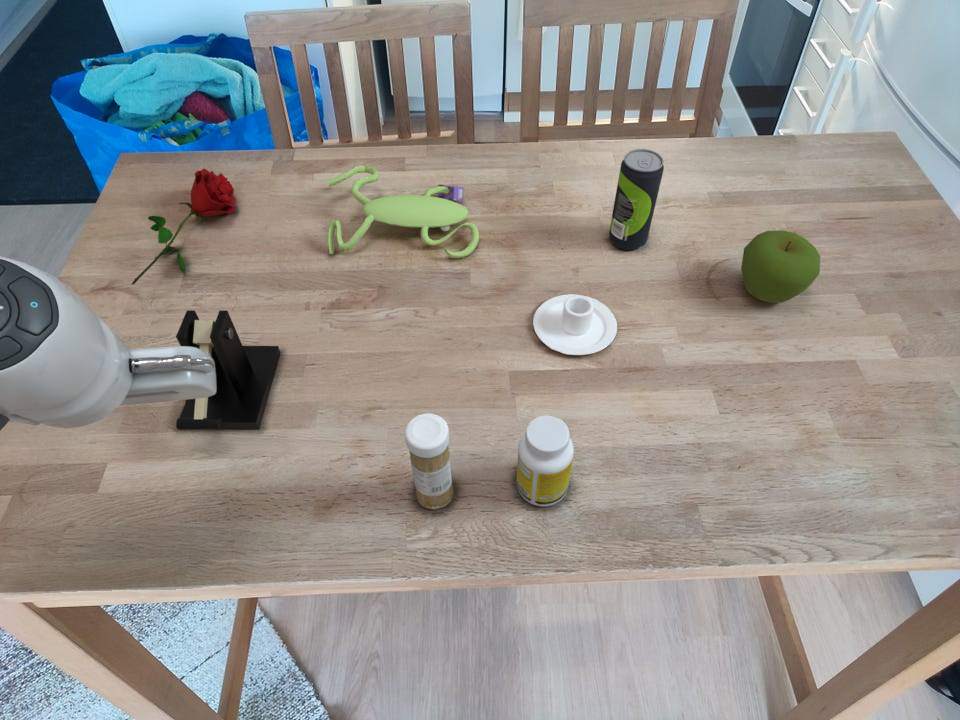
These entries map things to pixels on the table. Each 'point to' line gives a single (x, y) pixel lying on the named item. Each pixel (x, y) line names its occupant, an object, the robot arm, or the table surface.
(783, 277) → the apple
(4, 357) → the robot arm
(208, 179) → the flower
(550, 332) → the candle holder
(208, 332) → the lever
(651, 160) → the beverage can
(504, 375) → the table surface
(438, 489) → the sprinkles bottle
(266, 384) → the bracket
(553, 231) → the table surface
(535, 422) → the pill bottle
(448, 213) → the figurine
